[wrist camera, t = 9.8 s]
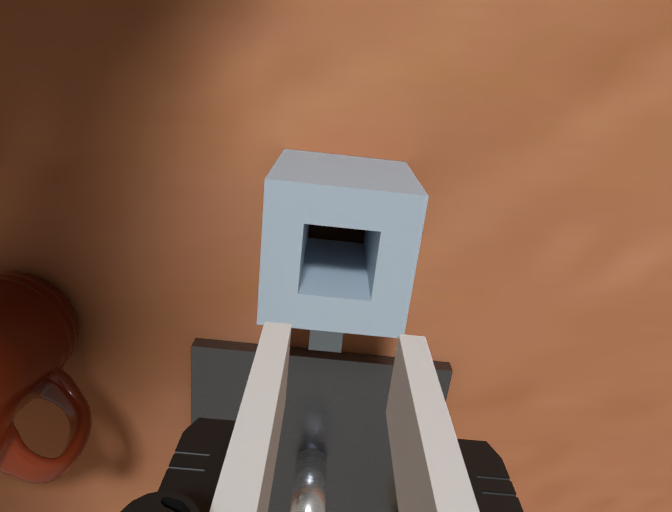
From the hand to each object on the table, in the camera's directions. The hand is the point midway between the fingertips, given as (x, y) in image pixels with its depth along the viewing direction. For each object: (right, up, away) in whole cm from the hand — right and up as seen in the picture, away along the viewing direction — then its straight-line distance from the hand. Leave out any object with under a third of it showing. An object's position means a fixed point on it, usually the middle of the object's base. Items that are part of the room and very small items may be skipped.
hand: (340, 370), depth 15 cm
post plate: (-2, -11, +22) cm, 24 cm away
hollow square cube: (0, +4, +16) cm, 17 cm away
